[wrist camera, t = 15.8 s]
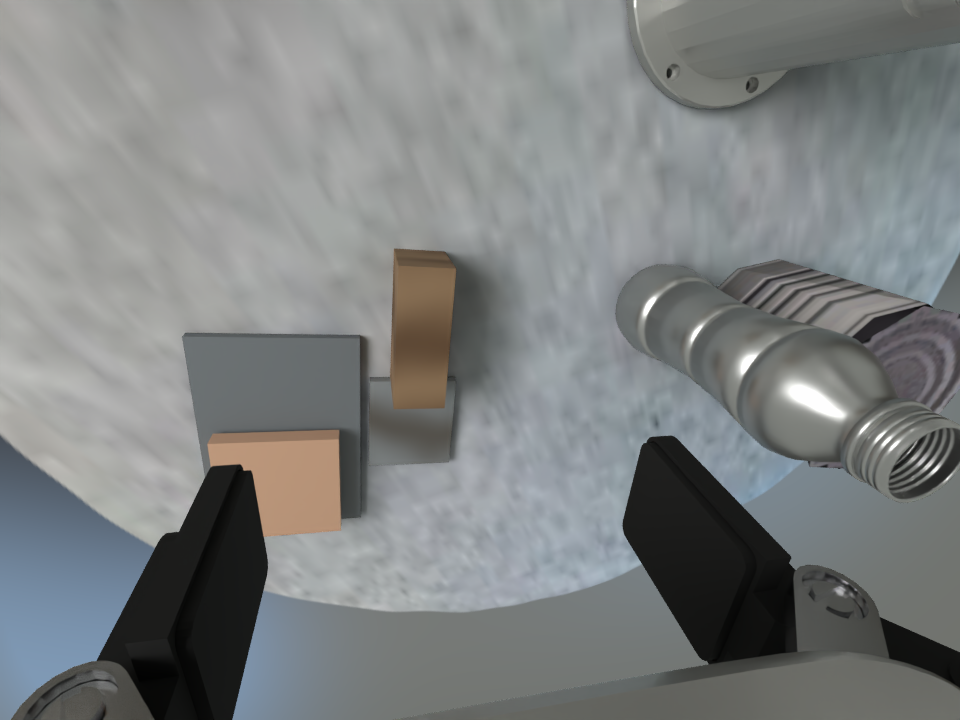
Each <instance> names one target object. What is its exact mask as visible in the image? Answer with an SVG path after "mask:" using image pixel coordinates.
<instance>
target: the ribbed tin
mask: <svg viewBox="0 0 960 720" xmlns="http://www.w3.org/2000/svg"><path fill="white" fill-rule="evenodd" d="M717 289H719V290H721V291H722V292H724V293H726V294H728V295H729V296H731V297H733V298H734V299H736V300H738V301H740V302H741V303H743V304H745V305H748V306H751V307H753V308H756V309H759V310H762V311H764V312H767V313H770V314H773V315H775V316H778V317H781V318H785V319H789V320H793V321H797V322H801V323H805V324H809V325H813V326H817V327H821V328H824V329H829V330H833V331H835V332H838V333H841V334H844V335H848V336H850V337H852V338H855V339H857V340H858V341H859V342H861V343H862V344H863V345H864V346H865V347H866V348H868V349H869V350H870V351H871V352H872V353H874V354H875V355H876V356H877V357H878V358H879V359H880V361H881V363H882V364H883V366H884V368H885V369H886V371H887V373H888V375H889V376H890V378H891V380H892V381H893V384H894V387H895V389H896V392H897V394H898V397H899V398H911V399H913V400H916V401H918V402H920V403H922V404H924V405H926V406H928V407H929V408H930V409H931V410H932V412H935V413H937V414H940V412H941V411H942V410H943V409H944V407H945V406H946V405H947V404H948V403H949V401H950V400H951V399H952V398H953V396H954V395H955V394H956V393H957V392H958V390H959V389H960V314H958V313H953V312H949V311H944V310H940V309H935V308H933V307H932V306H930V305H929V304H927V303H923V302H920V301H916V300H913V299H910V298H906V297H903V296H900V295H896V294H893V293H890V292H886V291H883V290H880V289H876V288H873V287H870V286H866V285H863V284H860V283H856V282H853V281H849V280H846V279H843V278H839V277H836V276H833V275H829V274H826V273H823V272H819V271H816V270H813V269H809V268H806V267H803V266H799V265H796V264H793V263H789V262H786V261H783V260H779V259H778V260H773V261H769V262H765V263H760V264H756V265H752V266H748V267H743V268H739V269H737V270H736V271H735V272H734V273H733V274H732V275H730V276H729V277H728V278H727V279H726V280H725V281H724V282H723V283H722V284H721V285H720V286H719V287H718V288H717ZM808 463H809V466H810V467H826V468H838V469H840V468H843V466H842V464H841V462H813V461H808Z"/></svg>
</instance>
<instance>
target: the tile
mask: <svg viewBox="0 0 960 720" xmlns="http://www.w3.org/2000/svg"><path fill="white" fill-rule="evenodd" d="M207 445H208V452H209V458H210V465H211V467H212V466H220V465H235V464H240V465H242V467H243V470H244V471H246V470H251V471H252V474H253V479H254V484H255V490H256V496H257V502H258V507H259V513H260V519H261V524H262V530H263V536H264V537H265V536H278V535H290V534H303V533H316V532H328V531H341V520H342V516H341V474H340V433H339V430H313V431H281V432H250V433H219V434H212V436H211V438H210V440H209V442H208V444H207Z"/></svg>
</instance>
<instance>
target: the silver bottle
mask: <svg viewBox="0 0 960 720" xmlns="http://www.w3.org/2000/svg"><path fill="white" fill-rule="evenodd" d="M615 314H616V322H617V325H618V328H619V329H620V331H621V333H622V334H623V336H624V337H625V338H626V340H627V341H628V342H629V343H630V344H631V345H632V346H633V347H634V348H635V349H637V350H638V351H640V352H642V353H644V354H646V355H648V356H649V357H651V358H654V359H657V360H660V361H663V362H665V363H667V364H668V365H670V366H672V367H673V368H675V369H677V370H678V371H680V372H682V373H684V374H685V375H687V376H689V377H690V378H691V379H692V380H693V381H694V382H696V383H697V384H698V385H700V386H701V387H702V388H703V389H704V390H705V391H706V392H707V393H709V394H710V395H711V396H712V397H713V398H715V399H716V400H717V401H718V402H719V403H720V404H721V405H722V406H723V407H724V408H725V409H726V410H727V411H728V412H729V413H730V415H731V416H732V417H733V418H734V419H735V420H736V421H737V422H738V423H739V424H740V425H741V426H742V427H743V428H744V430H745V431H746V432H747V433H748V434H749V435H750V436H751V437H753V438H754V439H755V440H756V441H757V442H758V443H759V444H760V445H761V446H763V447H765V448H766V449H768V450H770V451H772V452H775V453H777V454H780V455H783V456H785V457H788V458H792V459H795V460H804V461H813V462H841V464H842V466H843V468H844V469H845V471H846V472H847V473H849V474H850V475H851V476H853V477H854V478H856V479H857V480H859V481H861V482H865V483H868V484H869V485H870V486H872V487H873V488H875V489H876V490H878V491H879V492H880V493H882V494H883V495H885V496H886V497H888V498H890V499H892V500H894V501H896V502H901V503H908V502H914V501H917V500H919V499H923V498H925V497H927V496H929V495H931V494H933V493H934V492H936V491H937V490H939V489H940V488H941V487H943V486H944V485H945V484H946V483H947V482H948V481H950V480H951V479H952V478H953V476H954V475H955V474H956V473H957V472H958V470H959V469H960V425H959V424H957V423H955V422H953V421H951V420H949V419H947V418H945V417H943V416H941V415H939V414H937V413H935V412H932V410H931V409H930V408H929V407H928V406H926V405H924V404H922V403H920V402H918V401H916V400H913V399H911V398H899V397H898V394H897V392H896V389H895V387H894V384H893V381H892V380H891V378H890V376H889V375H888V373H887V371H886V369H885V368H884V366H883V364H882V363H881V361H880V359H879V358H878V357H877V356H876V355H875V354H874V353H872V352H871V351H870V350H869V349H868V348H866V347H865V346H864V345H863V344H862V343H861V342H859V341H858V340H857V339H855V338H852V337H850V336H848V335H844V334H841V333H838V332H835V331H833V330H829V329H824V328H821V327H817V326H813V325H809V324H805V323H801V322H797V321H793V320H789V319H785V318H781V317H778V316H775V315H773V314H770V313H767V312H764V311H762V310H759V309H756V308H753V307H751V306H748V305H745V304H743V303H741V302H740V301H738V300H736V299H734V298H733V297H731V296H729V295H728V294H726V293H724V292H722V291H721V290H719V289H717V288H716V287H715V286H714V285H713V284H711V283H710V282H709V281H708V280H706V279H705V278H704V277H702V276H701V275H699V274H698V273H696V272H695V271H693V270H691V269H688V268H686V267H681V266H674V265H667V264H661V265H654V266H650V267H648V268H646V269H643V270H641V271H640V272H638V273H637V274H636V275H634V276H633V277H632V278H631V279H630V280H629V281H628V282H627V283H626V284H625V286H624V287H623V289H622V291H621V293H620V295H619V297H618V301H617V304H616V313H615Z"/></svg>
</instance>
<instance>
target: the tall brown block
mask: <svg viewBox="0 0 960 720" xmlns="http://www.w3.org/2000/svg"><path fill="white" fill-rule="evenodd" d="M455 278H456V268H455V266H454V265H453V263H452V262H451V260H450V259H449V257H448V256H447V254H446V253H445V252H442V251H425V250H408V249H394V269H393V302H392V335H391V368H390V377H370V402H369V466H376V465H398V464H420V463H442V462H449V454H450V443H451V432H452V422H453V411H454V400H455V389H456V379H455V377H447V374H448V362H449V350H450V338H451V326H452V314H453V302H454V290H455Z"/></svg>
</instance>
